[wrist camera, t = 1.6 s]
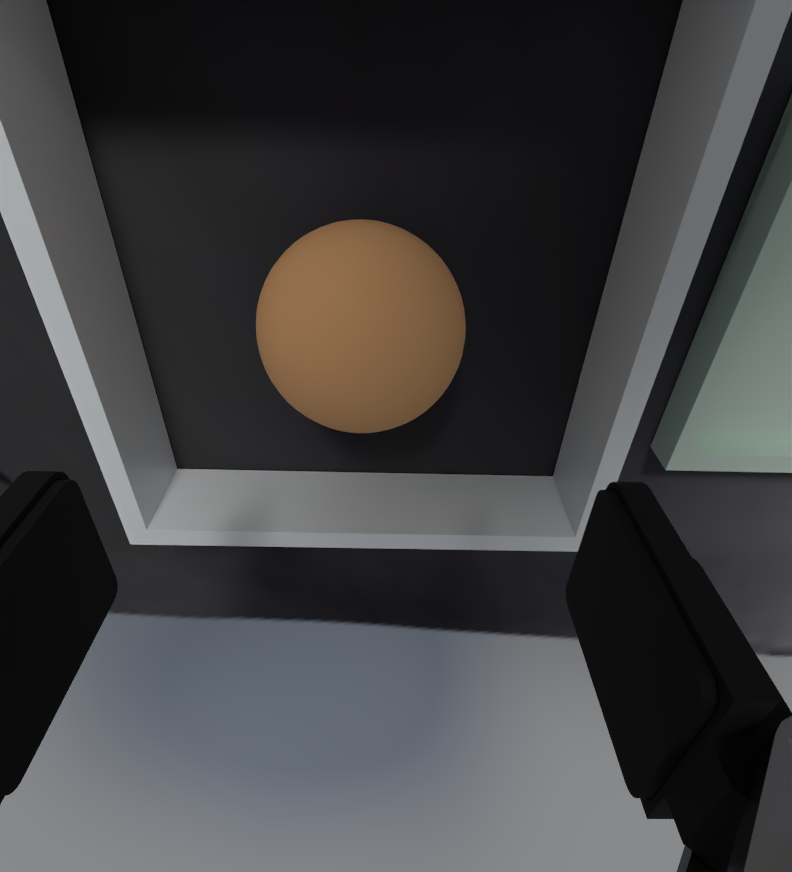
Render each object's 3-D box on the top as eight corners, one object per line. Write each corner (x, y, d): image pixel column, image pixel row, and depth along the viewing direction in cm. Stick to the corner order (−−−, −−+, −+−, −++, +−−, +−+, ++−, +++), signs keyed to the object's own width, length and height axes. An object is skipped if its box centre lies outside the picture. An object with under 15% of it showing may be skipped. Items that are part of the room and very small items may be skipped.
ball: (266, 192, 16) (212, 257, 11) (464, 199, 16) (495, 266, 11) (284, 367, 20) (250, 473, 15) (447, 371, 20) (464, 477, 15)
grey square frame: (-11, -81, 12) (-129, -117, 10) (728, -49, 13) (823, -74, 10) (162, 482, 23) (130, 544, 20) (567, 490, 23) (591, 551, 21)
